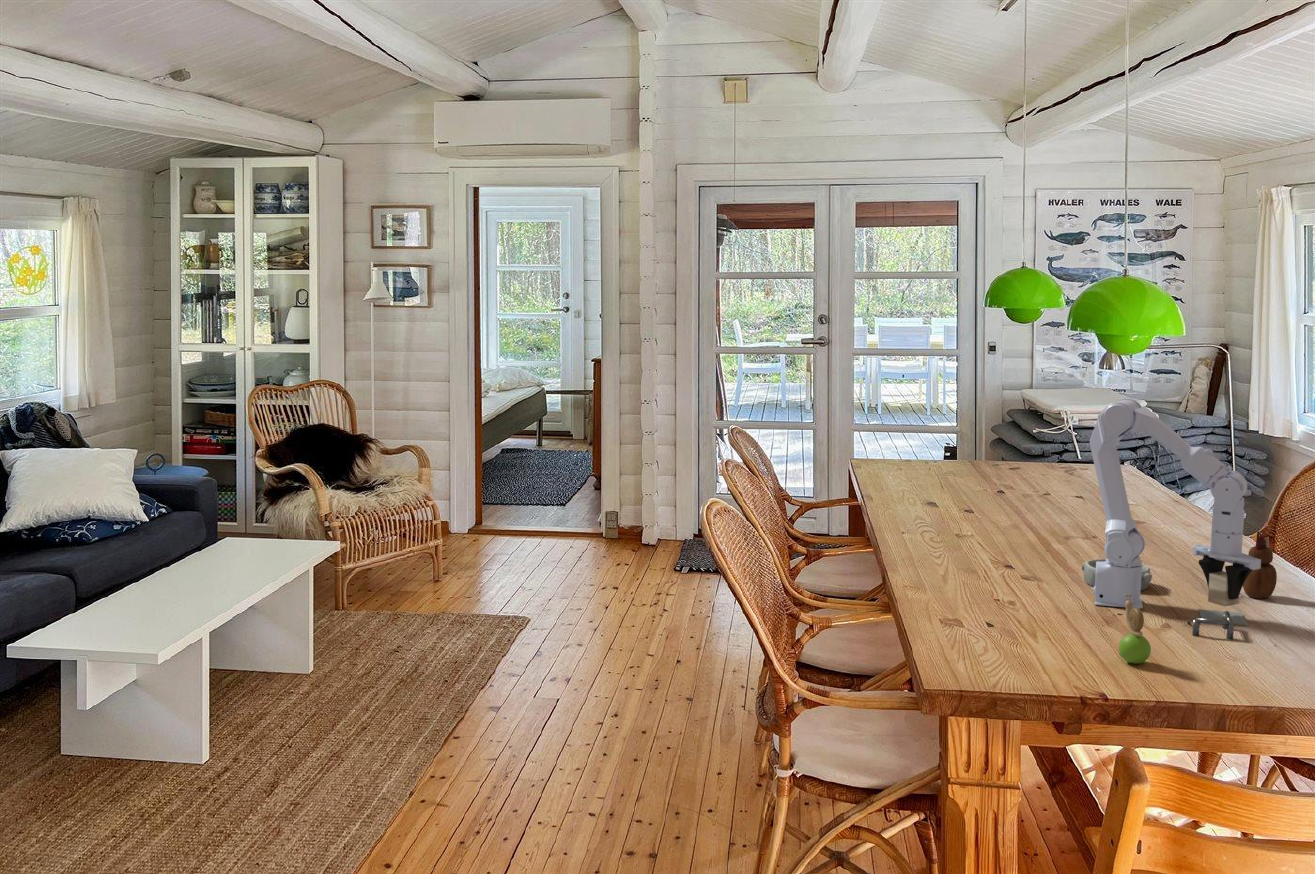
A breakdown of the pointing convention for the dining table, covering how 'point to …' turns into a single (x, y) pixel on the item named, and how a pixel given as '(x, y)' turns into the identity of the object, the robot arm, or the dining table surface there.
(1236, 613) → the mat
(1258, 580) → the wooden figurine
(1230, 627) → the bent rod
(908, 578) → the dining table surface
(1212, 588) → the ash block
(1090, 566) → the dish
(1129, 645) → the green beige tall piece
